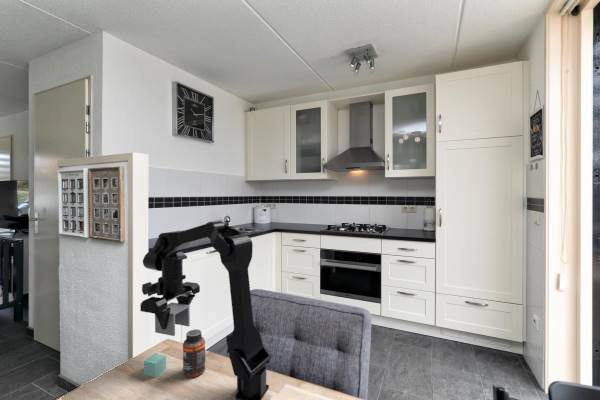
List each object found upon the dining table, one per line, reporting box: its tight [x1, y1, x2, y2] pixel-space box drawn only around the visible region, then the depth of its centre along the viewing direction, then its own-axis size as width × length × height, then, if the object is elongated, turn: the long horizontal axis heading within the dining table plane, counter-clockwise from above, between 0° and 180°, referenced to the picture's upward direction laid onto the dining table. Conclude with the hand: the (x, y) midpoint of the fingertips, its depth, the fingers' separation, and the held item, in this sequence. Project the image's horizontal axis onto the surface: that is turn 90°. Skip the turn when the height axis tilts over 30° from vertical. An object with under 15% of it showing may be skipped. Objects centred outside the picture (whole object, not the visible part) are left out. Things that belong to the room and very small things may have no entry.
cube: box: [143, 352, 167, 379], centre depth 82 cm, size 4×4×4 cm
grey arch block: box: [154, 302, 191, 337], centre depth 88 cm, size 7×7×6 cm
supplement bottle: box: [182, 328, 206, 378], centre depth 82 cm, size 6×6×11 cm
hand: (172, 324), depth 88 cm, fingers closed on grey arch block, 7 cm apart
